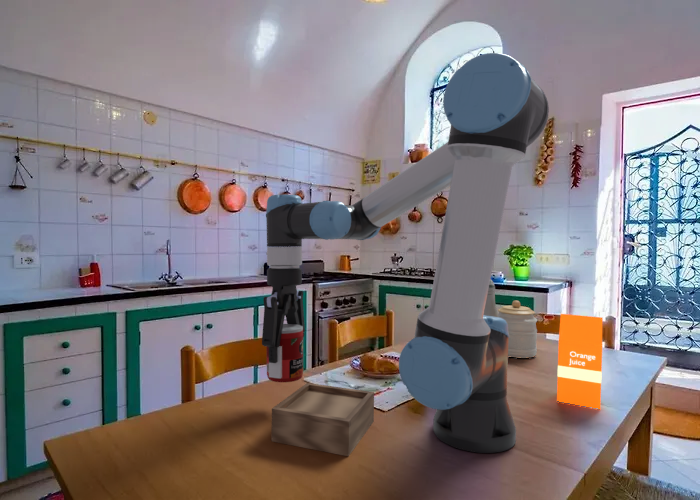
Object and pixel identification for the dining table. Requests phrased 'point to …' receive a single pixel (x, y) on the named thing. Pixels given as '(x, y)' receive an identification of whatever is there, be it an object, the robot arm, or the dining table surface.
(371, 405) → the box
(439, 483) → the dining table surface
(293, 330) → the canned food
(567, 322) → the orange juice
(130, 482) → the dining table surface
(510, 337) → the jar
